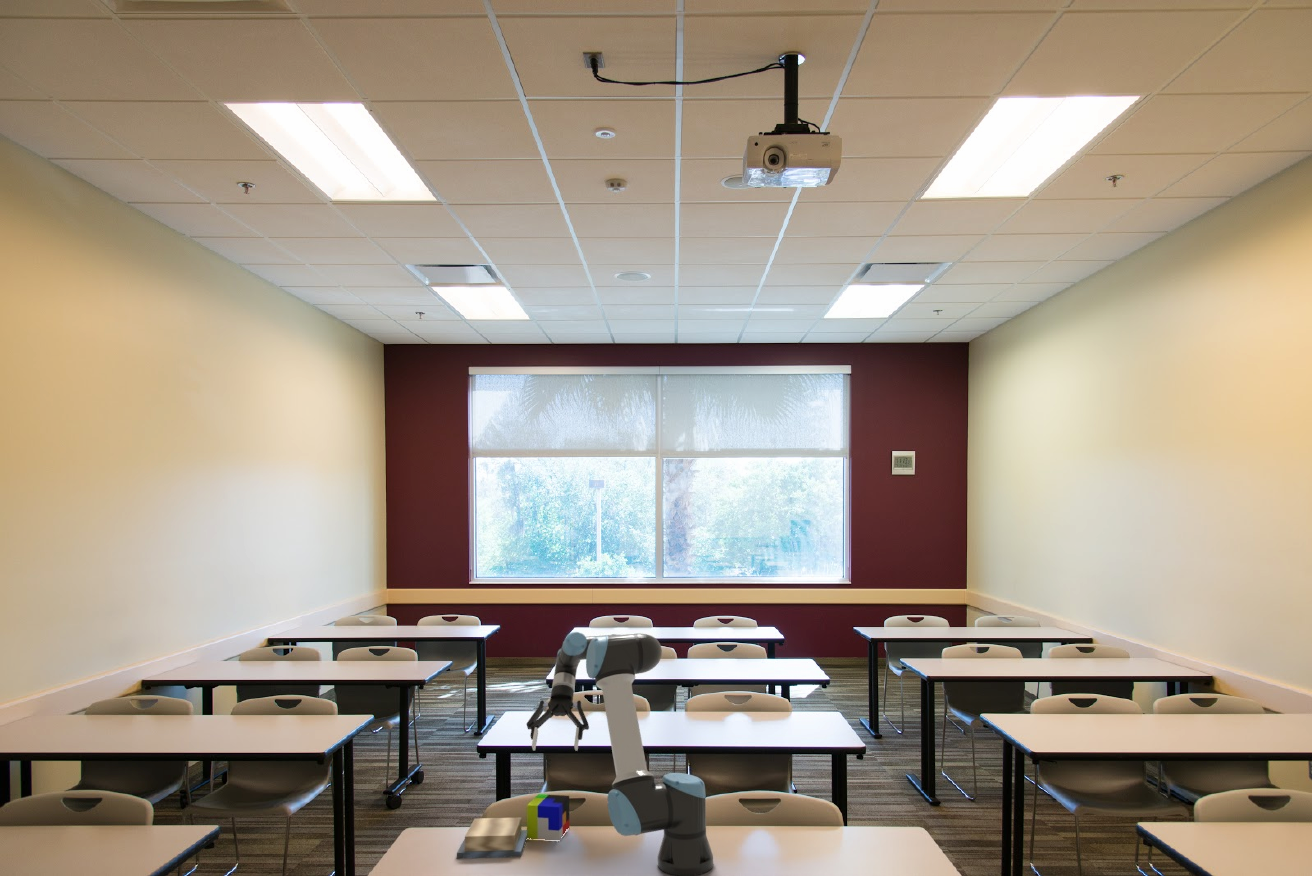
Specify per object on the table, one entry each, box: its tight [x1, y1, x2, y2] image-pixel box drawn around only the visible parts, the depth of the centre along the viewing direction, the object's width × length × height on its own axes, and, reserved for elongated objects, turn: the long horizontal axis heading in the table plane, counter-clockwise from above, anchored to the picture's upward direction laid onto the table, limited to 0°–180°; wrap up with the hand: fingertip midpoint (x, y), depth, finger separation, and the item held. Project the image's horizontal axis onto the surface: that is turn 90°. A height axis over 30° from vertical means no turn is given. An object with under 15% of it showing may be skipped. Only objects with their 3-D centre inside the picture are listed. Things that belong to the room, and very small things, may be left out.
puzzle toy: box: [526, 793, 570, 840], centre depth 242 cm, size 10×10×10 cm
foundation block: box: [456, 817, 527, 860], centre depth 234 cm, size 18×16×6 cm
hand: (554, 748), depth 255 cm, fingers open, 13 cm apart
